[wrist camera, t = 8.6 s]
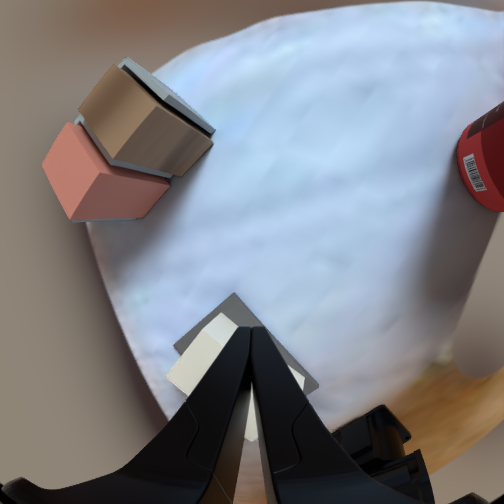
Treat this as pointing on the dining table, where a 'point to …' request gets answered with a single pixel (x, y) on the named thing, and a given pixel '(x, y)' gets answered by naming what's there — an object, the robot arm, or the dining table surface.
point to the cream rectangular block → (202, 357)
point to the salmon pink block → (97, 180)
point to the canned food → (484, 159)
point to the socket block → (168, 97)
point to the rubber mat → (244, 317)
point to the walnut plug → (141, 125)
